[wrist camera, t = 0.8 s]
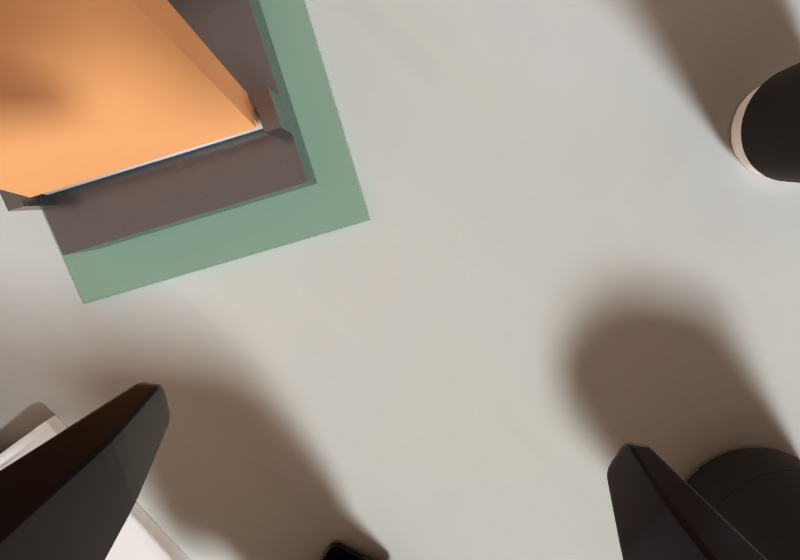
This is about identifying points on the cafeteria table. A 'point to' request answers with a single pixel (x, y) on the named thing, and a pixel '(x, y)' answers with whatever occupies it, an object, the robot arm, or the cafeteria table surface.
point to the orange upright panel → (106, 91)
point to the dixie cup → (770, 127)
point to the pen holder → (756, 498)
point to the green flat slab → (260, 221)
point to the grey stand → (201, 168)
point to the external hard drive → (140, 535)
